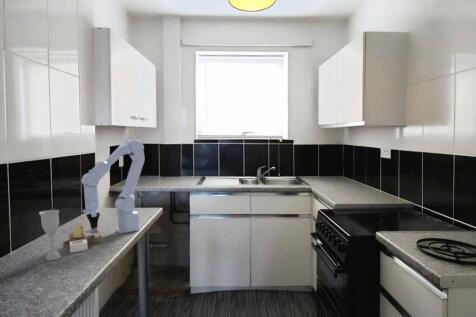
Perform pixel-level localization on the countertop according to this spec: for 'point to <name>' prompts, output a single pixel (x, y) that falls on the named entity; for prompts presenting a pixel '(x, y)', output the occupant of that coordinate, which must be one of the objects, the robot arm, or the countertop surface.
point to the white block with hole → (78, 245)
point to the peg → (78, 232)
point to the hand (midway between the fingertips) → (94, 229)
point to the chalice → (50, 229)
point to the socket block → (87, 237)
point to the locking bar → (92, 233)
